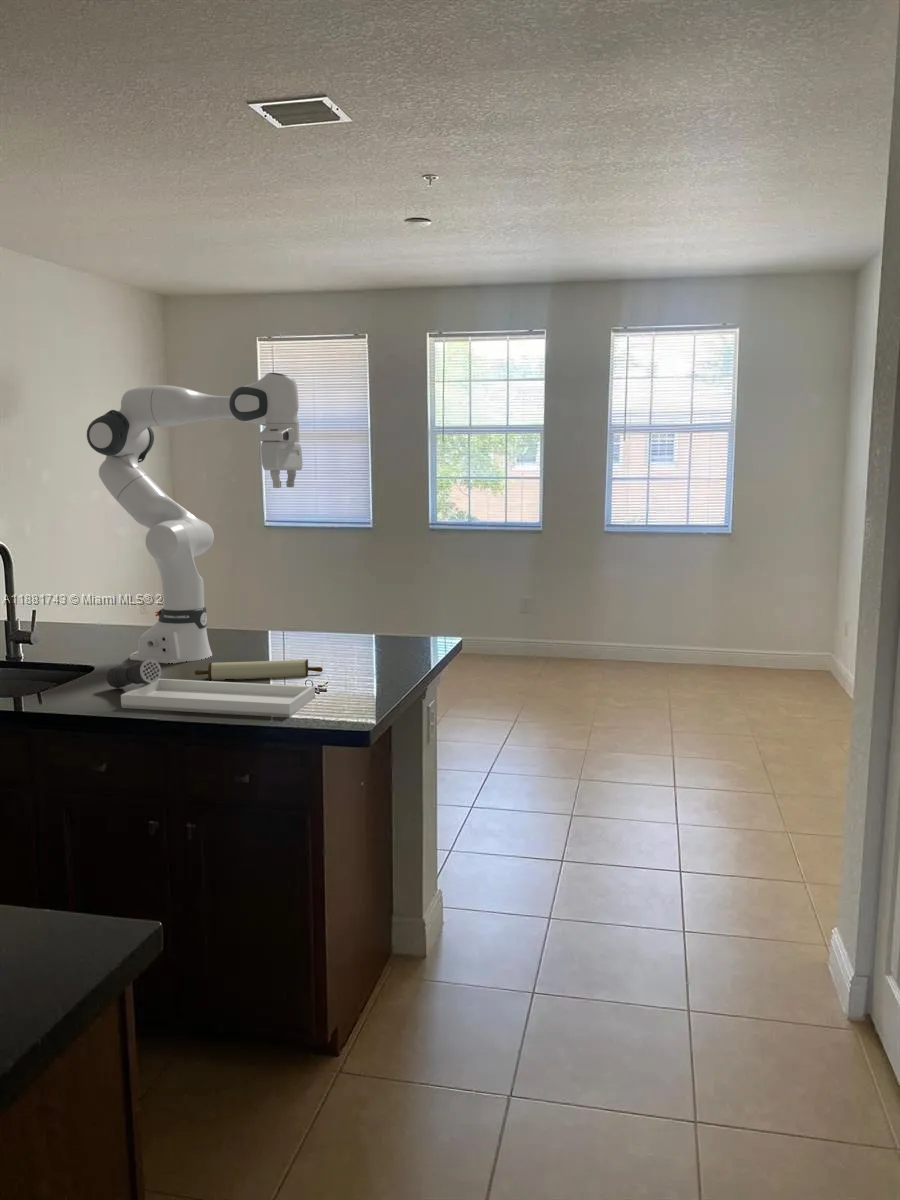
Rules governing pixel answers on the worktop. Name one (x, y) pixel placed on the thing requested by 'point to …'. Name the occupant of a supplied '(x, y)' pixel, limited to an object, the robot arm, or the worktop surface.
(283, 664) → the rolling pin
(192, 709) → the tray
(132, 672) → the flashlight
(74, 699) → the worktop surface
